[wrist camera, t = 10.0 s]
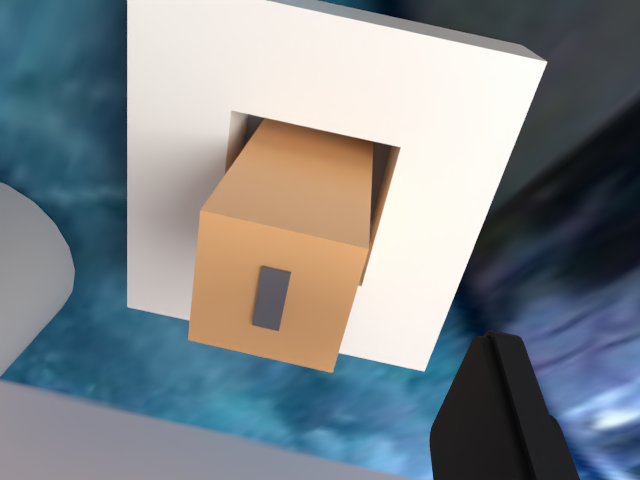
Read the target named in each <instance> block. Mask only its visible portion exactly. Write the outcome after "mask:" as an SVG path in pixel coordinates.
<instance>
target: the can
mask: <svg viewBox="0 0 640 480" xmlns="http://www.w3.org/2000/svg"><path fill="white" fill-rule="evenodd" d="M74 275H75V269H74V264H73V260H72V256H71V252H70V248H69V246H68V245H67V243H66V241H65V239H64V238H63V236H62V234H61V233H60V231H59V229H58V228H57V226H56V224H55V223H54V222H53V221H52V220H51V219H50V217H49V216H48V215H47V214H46V213H45V212H44V211H43V210H42V209H41V208H40V207H39V206H38V205H37V204H35V203H34V202H33V201H32V200H30V199H29V198H27V197H25V196H24V195H22V194H21V193H19V192H18V191H16V190H14V189H13V188H11V187H10V186H8V185H6V184H4V183H1V182H0V376H1V375H2V374H3V373H4V372H5V371H6V370H7V368H8V367H9V366H10V365H11V364H12V363H13V362H14V361H15V359H16V358H17V357H18V356H19V355H20V354H21V353H22V352H23V351H24V349H25V348H26V347H27V346H28V345H29V344H30V343H31V342H32V341H33V339H34V338H35V337H36V336H37V335H38V334H39V333H40V332H41V331H42V329H43V328H44V327H45V326H46V325H47V324H48V323H49V322H50V320H51V319H52V318H53V317H54V316H55V315H56V314H57V313H58V312H59V310H60V309H61V308H62V307H63V306H64V304H65V302H66V301H67V299H68V298H69V296H70V294H71V293H72V291H73V283H74Z"/></svg>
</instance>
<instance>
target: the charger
mask: <svg viewBox="0 0 640 480" xmlns="http://www.w3.org/2000/svg"><path fill="white" fill-rule="evenodd" d="M372 163H373V141H369V140H365V139H360V138H356V137H351V136H347V135H342V134H337V133H333V132H328V131H324V130H319V129H314V128H310V127H305V126H301V125H296V124H291V123H287V122H282V121H278V120H273V119H269V118H265V119H264V120H263V121H262V123H261V124H260V126H259V127H258V129H257V130H256V131H255V133H254V134H253V136H252V137H251V139H250V140H249V141H248V143H247V144H246V146H245V147H244V149H243V150H242V151H241V153H240V154H239V156H238V157H237V159H236V160H235V161H234V163H233V164H232V166H231V167H230V169H229V170H228V171H227V173H226V174H225V176H224V177H223V179H222V180H221V181H220V183H219V184H218V186H217V187H216V189H215V190H214V191H213V193H212V194H211V196H210V197H209V199H208V200H207V201H206V203H205V204H204V206H203V207H202V209H201V210H200V219H199V229H198V240H197V250H196V260H195V271H194V281H193V292H192V302H191V312H190V323H189V333H188V340H190V341H195V342H199V343H203V344H208V345H212V346H217V347H221V348H225V349H230V350H234V351H239V352H243V353H247V354H252V355H256V356H261V357H265V358H269V359H274V360H278V361H283V362H287V363H291V364H296V365H300V366H304V367H309V368H313V369H318V370H322V371H326V372H331V373H333V370H334V366H335V363H336V359H337V356H338V353H339V349H340V346H341V342H342V339H343V336H344V332H345V329H346V326H347V322H348V319H349V315H350V312H351V309H352V305H353V302H354V298H355V295H356V292H357V288H358V285H359V281H360V278H361V275H362V271H363V268H364V265H365V261H366V258H367V254H368V251H369V238H370V213H371V188H372Z"/></svg>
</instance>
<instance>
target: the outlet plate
mask: <svg viewBox="0 0 640 480" xmlns="http://www.w3.org/2000/svg"><path fill="white" fill-rule="evenodd" d="M546 64H547V61H545V60H544V59H542V58H541V57H539V56H538V55H536V54H535V53H533V52H532V51H530V50H529V49H527V48H526V47H524V46H522V45H519V44H515V43H510V42H506V41H501V40H496V39H492V38H487V37H483V36H478V35H474V34H469V33H464V32H460V31H455V30H451V29H446V28H442V27H437V26H432V25H428V24H423V23H419V22H414V21H410V20H405V19H400V18H396V17H391V16H387V15H382V14H378V13H373V12H368V11H364V10H359V9H355V8H350V7H346V6H341V5H337V4H332V3H327V2H323V1H318V0H127V307H129V308H134V309H138V310H143V311H148V312H152V313H157V314H162V315H166V316H171V317H175V318H180V319H185V320H189V321H190V312H191V302H192V292H193V281H194V271H195V260H196V250H197V240H198V229H199V219H200V210H201V209H202V207H203V206H204V204H205V203H206V201H207V200H208V199H209V197H210V196H211V194H212V193H213V191H214V190H215V189H216V187H217V186H218V184H219V183H220V181H221V180H222V179H223V177H224V176H225V174H226V173H227V171H228V170H229V169H230V167H231V166H232V164H233V163H234V161H235V160H236V159H237V157H238V156H239V154H240V153H241V151H242V150H243V149H244V147H245V146H246V144H247V143H248V141H249V140H250V139H251V137H252V136H253V134H254V133H255V131H256V130H257V129H258V127H259V126H260V124H261V123H262V121H263V120H264V119H265V118H269V119H273V120H278V121H282V122H287V123H291V124H296V125H301V126H305V127H310V128H314V129H319V130H324V131H328V132H333V133H337V134H342V135H347V136H351V137H356V138H360V139H365V140H369V141H373V163H372V188H371V213H370V238H369V251H368V254H367V258H366V261H365V265H364V268H363V271H362V275H361V278H360V281H359V285H358V288H357V292H356V295H355V298H354V302H353V305H352V309H351V312H350V315H349V319H348V322H347V326H346V329H345V332H344V336H343V339H342V342H341V346H340V349H339V353H342V354H346V355H351V356H355V357H360V358H365V359H369V360H374V361H378V362H383V363H388V364H392V365H397V366H402V367H406V368H411V369H415V370H420V371H425V368H426V366H427V363H428V361H429V358H430V356H431V353H432V351H433V348H434V346H435V343H436V341H437V338H438V336H439V333H440V331H441V328H442V326H443V323H444V321H445V318H446V316H447V313H448V310H449V308H450V305H451V303H452V300H453V298H454V295H455V293H456V290H457V288H458V285H459V283H460V280H461V278H462V275H463V273H464V270H465V268H466V265H467V263H468V260H469V258H470V255H471V253H472V250H473V248H474V245H475V242H476V240H477V237H478V235H479V232H480V230H481V227H482V225H483V222H484V220H485V217H486V215H487V212H488V210H489V207H490V205H491V202H492V200H493V197H494V195H495V192H496V190H497V187H498V185H499V182H500V180H501V177H502V174H503V172H504V169H505V167H506V164H507V162H508V159H509V157H510V154H511V152H512V149H513V147H514V144H515V142H516V139H517V137H518V134H519V132H520V129H521V127H522V124H523V122H524V119H525V117H526V114H527V112H528V109H529V106H530V104H531V101H532V99H533V96H534V94H535V91H536V89H537V86H538V84H539V81H540V79H541V76H542V74H543V71H544V69H545V66H546Z"/></svg>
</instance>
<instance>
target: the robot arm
mask: <svg viewBox="0 0 640 480" xmlns="http://www.w3.org/2000/svg"><path fill="white" fill-rule="evenodd" d="M430 452H431V461H432V470H433V480H580V479H579V476H578V473H577V470H576V468H575V465H574V462H573V460H572V457H571V454H570V452H569V449H568V446H567V443H566V441H565V438H564V435H563V433H562V430H561V428H560V426H559V424H558V422H557V420H556V419H555V418H554V417H553V416H551V415H549V413H548V410H547V407H546V404H545V401H544V399H543V396H542V393H541V390H540V387H539V385H538V382H537V379H536V376H535V373H534V371H533V368H532V365H531V362H530V359H529V357H528V354H527V351H526V348H525V346H524V343H523V341H522V339H521V338H520V337H519V336H516V335H511V334H506V333H501V332H496V331H491V330H489V331H487V332H486V333H485V334H484V335H483V337H481V336H476V337H474V339H473V340H472V342H471V344H470V347H469V349H468V351H467V353H466V355H465V357H464V359H463V361H462V364H461V366H460V368H459V370H458V372H457V374H456V376H455V378H454V380H453V383H452V385H451V387H450V389H449V391H448V393H447V395H446V397H445V400H444V402H443V404H442V406H441V408H440V410H439V412H438V414H437V417H436V419H435V421H434V423H433V425H432V428H431V432H430Z"/></svg>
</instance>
